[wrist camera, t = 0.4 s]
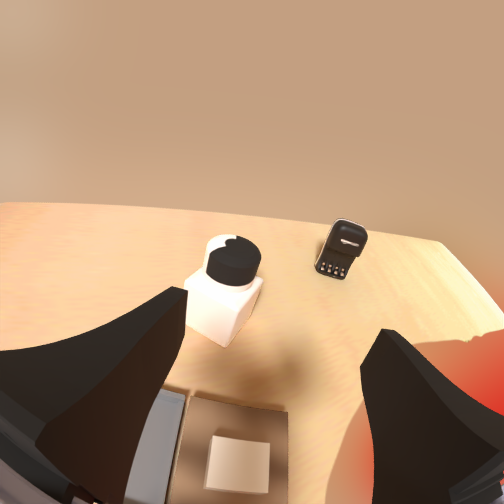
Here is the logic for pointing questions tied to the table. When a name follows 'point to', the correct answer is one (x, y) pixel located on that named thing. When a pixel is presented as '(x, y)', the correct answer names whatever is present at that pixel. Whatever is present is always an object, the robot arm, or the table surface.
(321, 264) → the battery charger
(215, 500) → the board
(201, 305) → the medicine bottle
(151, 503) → the tray
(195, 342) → the table surface
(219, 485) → the tile
